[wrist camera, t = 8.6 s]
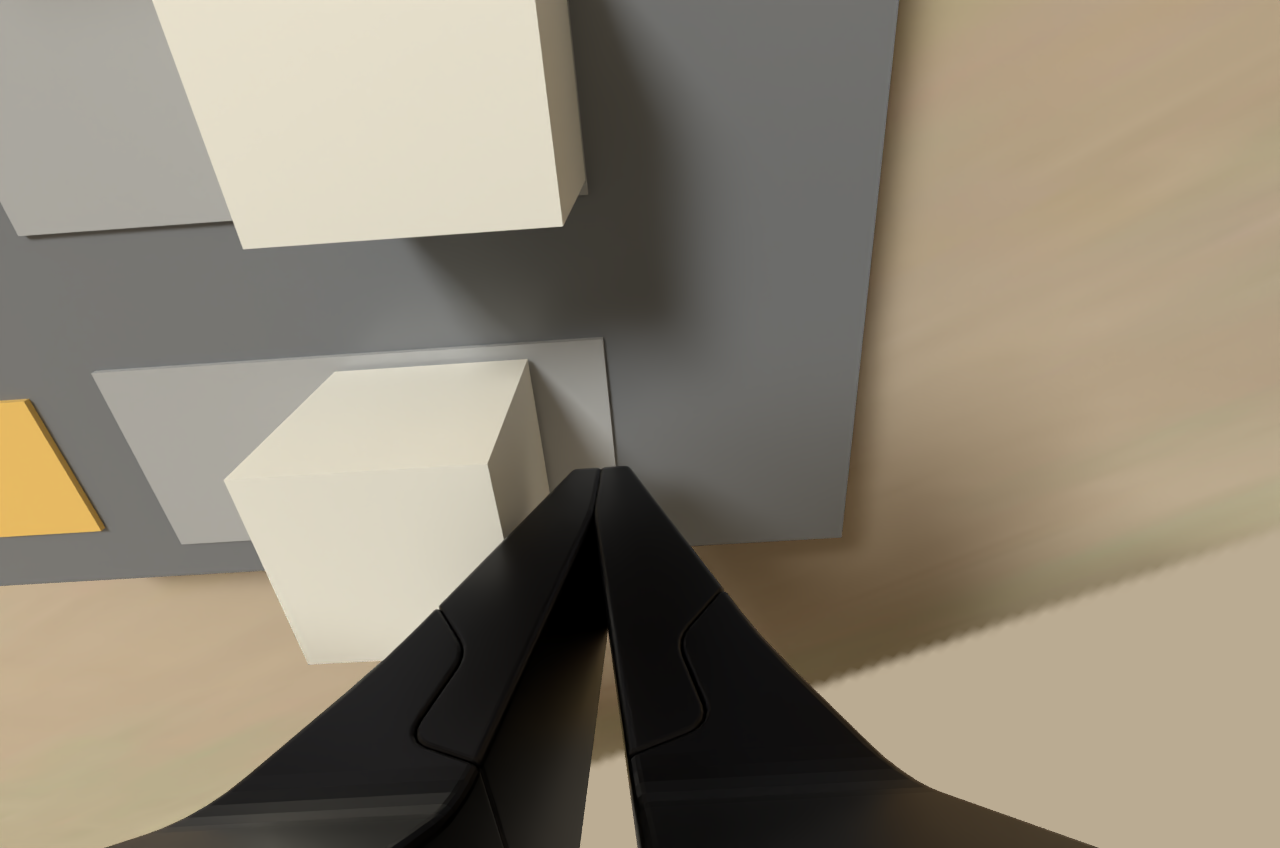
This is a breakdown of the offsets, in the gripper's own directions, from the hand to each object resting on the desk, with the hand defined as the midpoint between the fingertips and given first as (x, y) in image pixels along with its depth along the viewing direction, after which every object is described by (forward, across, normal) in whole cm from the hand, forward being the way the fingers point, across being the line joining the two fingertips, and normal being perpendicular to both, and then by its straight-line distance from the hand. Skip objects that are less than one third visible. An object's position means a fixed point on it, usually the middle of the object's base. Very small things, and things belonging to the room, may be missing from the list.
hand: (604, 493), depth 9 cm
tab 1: (+1, +1, -6) cm, 6 cm away
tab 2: (+1, +3, 0) cm, 3 cm away
